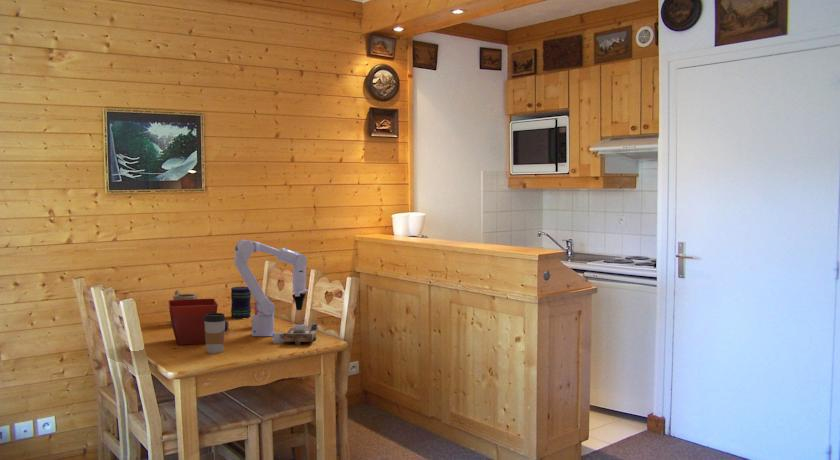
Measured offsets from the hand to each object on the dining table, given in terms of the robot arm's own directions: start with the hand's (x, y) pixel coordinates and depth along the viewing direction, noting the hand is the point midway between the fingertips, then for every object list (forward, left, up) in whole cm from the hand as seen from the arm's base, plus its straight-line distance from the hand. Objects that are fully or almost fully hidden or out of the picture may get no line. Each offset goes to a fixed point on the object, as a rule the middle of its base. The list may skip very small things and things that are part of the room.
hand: (299, 309), depth 320 cm
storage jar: (-34, +37, -11) cm, 51 cm away
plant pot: (-42, -21, -11) cm, 48 cm away
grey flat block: (+3, -16, -10) cm, 19 cm away
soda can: (-19, +14, -11) cm, 26 cm away
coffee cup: (-28, -40, -11) cm, 50 cm away
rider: (+3, -20, -7) cm, 22 cm away
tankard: (-58, +20, -11) cm, 62 cm away
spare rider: (-6, -21, -11) cm, 24 cm away
